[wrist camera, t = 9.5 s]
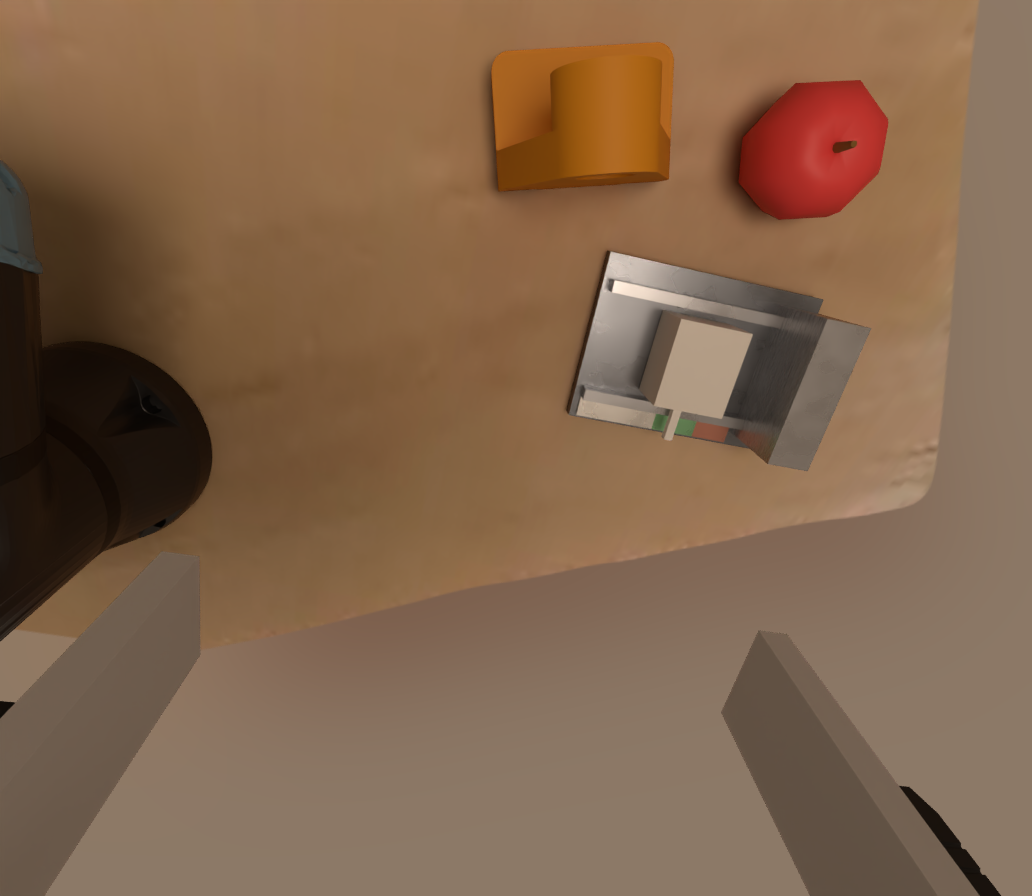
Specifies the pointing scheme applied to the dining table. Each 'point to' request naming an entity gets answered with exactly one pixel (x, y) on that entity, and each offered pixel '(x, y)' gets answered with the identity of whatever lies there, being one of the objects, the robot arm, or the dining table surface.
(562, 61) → the bracket
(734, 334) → the cream block with peg
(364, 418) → the dining table surface
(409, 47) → the dining table surface
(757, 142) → the apple
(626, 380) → the gauge base
